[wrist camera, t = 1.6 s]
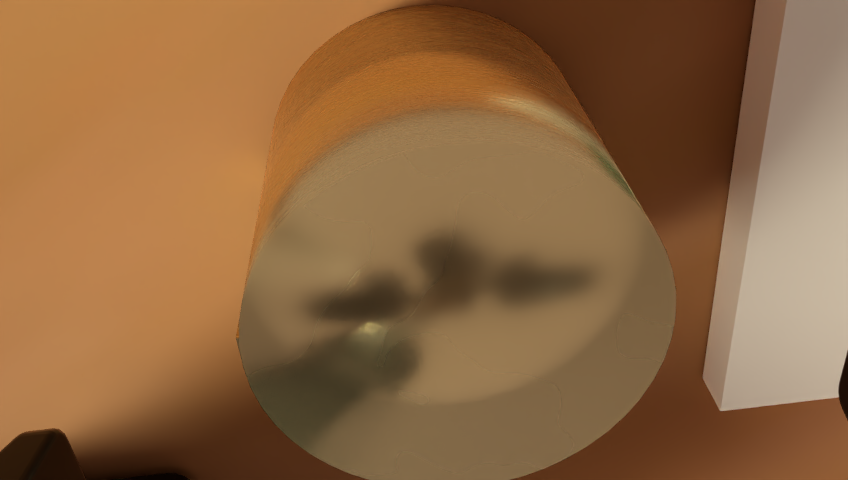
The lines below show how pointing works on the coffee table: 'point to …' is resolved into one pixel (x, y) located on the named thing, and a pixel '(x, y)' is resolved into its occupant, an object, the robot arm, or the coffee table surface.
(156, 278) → the coffee table surface
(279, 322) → the cap
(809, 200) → the neck block
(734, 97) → the coffee table surface
